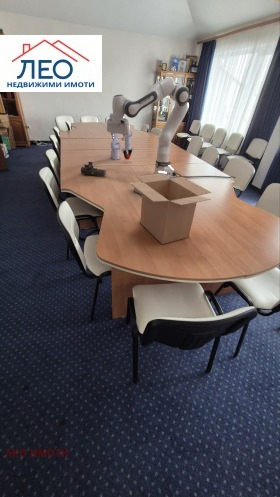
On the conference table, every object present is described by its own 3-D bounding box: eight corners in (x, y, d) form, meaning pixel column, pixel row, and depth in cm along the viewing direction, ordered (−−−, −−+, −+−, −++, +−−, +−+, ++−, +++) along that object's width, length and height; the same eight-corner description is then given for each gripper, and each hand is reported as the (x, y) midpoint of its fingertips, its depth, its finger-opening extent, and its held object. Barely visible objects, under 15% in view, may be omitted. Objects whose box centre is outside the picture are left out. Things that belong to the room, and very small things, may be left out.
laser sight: (103, 178, 196) (102, 166, 190) (79, 175, 199) (78, 163, 193) (106, 175, 204) (106, 163, 198) (83, 172, 206) (82, 160, 201)
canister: (130, 159, 236) (130, 154, 233) (126, 159, 233) (126, 155, 230) (127, 158, 239) (128, 153, 236) (124, 158, 236) (124, 153, 233)
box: (210, 242, 124) (224, 196, 108) (157, 258, 109) (164, 208, 93) (167, 209, 154) (173, 169, 138) (121, 218, 140) (121, 175, 123)
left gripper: (124, 145, 221) (124, 159, 229) (135, 143, 229) (134, 157, 237) (120, 143, 225) (120, 157, 233) (131, 142, 233) (130, 156, 241)
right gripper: (104, 118, 172) (105, 138, 180) (127, 121, 165) (126, 142, 173) (109, 118, 176) (109, 137, 185) (131, 121, 169) (130, 140, 177)
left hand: (127, 157), depth 235 cm, fingers closed on canister, 5 cm apart
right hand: (118, 139), depth 179 cm, fingers open, 8 cm apart
